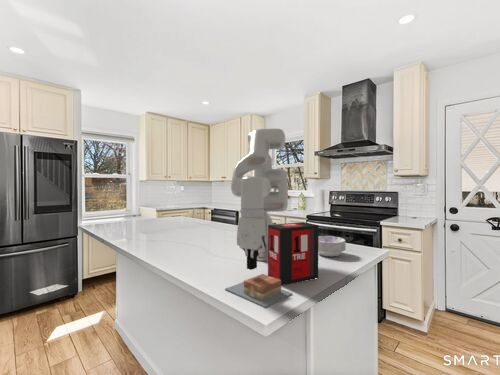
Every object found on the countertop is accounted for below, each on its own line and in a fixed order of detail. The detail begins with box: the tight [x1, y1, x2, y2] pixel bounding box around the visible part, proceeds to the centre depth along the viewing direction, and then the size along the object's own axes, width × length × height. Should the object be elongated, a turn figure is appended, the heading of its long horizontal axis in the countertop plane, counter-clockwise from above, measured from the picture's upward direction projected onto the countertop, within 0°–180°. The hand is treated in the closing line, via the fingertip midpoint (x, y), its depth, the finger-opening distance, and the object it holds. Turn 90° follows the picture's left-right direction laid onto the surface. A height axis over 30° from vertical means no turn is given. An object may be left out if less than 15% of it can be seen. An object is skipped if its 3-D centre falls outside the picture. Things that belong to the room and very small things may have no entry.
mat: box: [224, 281, 293, 309], centre depth 86 cm, size 18×13×1 cm
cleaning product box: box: [267, 221, 319, 287], centre depth 99 cm, size 16×9×20 cm, turn 115°
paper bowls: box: [318, 235, 347, 258], centre depth 132 cm, size 15×15×8 cm
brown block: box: [243, 273, 282, 301], centre depth 85 cm, size 4×9×8 cm
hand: (251, 268), depth 88 cm, fingers closed
